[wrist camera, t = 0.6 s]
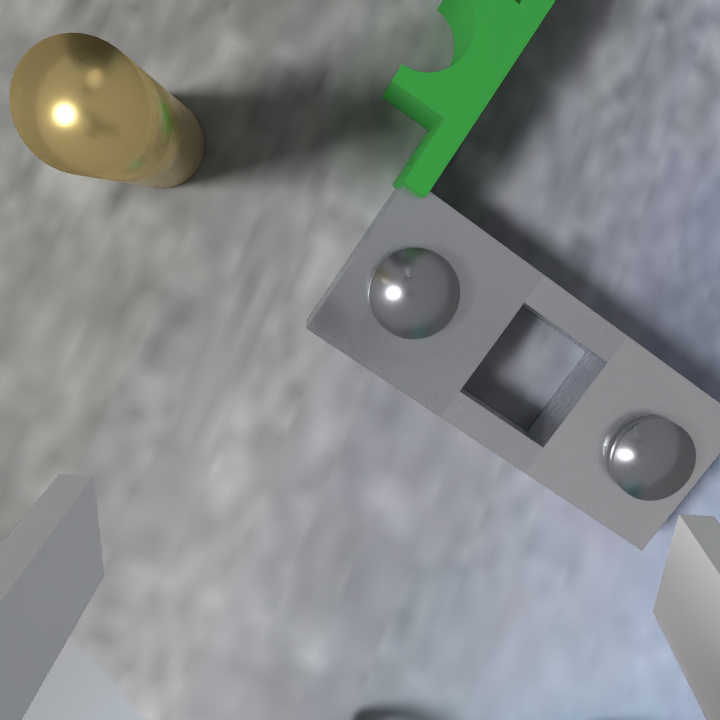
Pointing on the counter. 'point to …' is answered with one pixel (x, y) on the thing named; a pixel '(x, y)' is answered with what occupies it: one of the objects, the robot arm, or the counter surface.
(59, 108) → the link pin
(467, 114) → the pipe clamp
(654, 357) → the plate with dome knobs
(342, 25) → the counter surface
